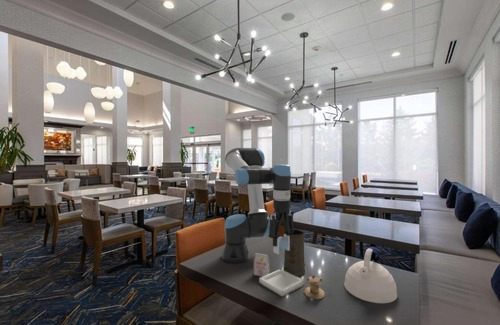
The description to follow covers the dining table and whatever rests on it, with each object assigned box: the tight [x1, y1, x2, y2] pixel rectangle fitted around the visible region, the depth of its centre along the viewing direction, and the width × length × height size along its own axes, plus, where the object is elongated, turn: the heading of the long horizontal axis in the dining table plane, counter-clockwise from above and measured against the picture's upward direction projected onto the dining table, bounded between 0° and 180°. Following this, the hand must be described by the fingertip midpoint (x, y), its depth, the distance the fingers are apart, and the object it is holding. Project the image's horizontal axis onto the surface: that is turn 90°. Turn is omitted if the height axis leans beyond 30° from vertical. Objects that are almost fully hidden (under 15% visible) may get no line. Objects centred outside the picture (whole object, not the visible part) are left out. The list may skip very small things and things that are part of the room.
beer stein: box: [282, 229, 306, 277], centre depth 123 cm, size 15×11×20 cm
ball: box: [278, 236, 289, 252], centre depth 108 cm, size 6×6×6 cm
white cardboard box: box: [253, 252, 271, 277], centre depth 117 cm, size 4×7×10 cm, turn 65°
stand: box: [304, 274, 326, 300], centre depth 101 cm, size 8×8×7 cm
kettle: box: [343, 246, 398, 304], centre depth 104 cm, size 20×21×18 cm
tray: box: [258, 268, 305, 297], centre depth 109 cm, size 14×14×2 cm
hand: (281, 251), depth 108 cm, fingers closed on ball, 6 cm apart
